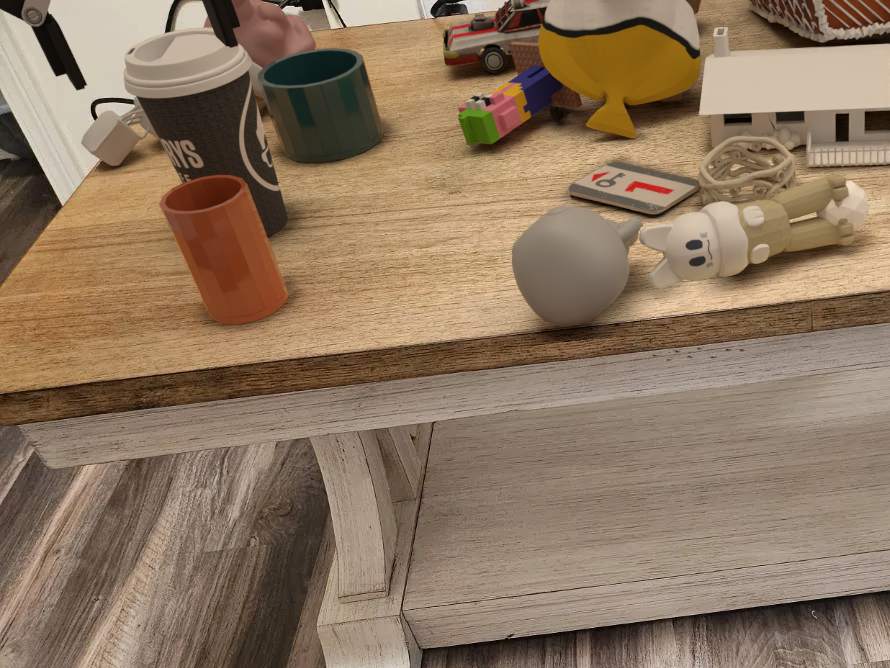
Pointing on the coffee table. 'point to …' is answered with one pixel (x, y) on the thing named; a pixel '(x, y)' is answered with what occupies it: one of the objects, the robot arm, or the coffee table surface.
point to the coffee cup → (206, 112)
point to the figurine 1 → (269, 31)
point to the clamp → (130, 129)
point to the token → (634, 187)
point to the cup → (225, 248)
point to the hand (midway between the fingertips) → (154, 62)
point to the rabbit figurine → (754, 230)
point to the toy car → (493, 34)
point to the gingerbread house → (827, 17)
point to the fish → (621, 53)
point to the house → (800, 98)
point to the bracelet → (745, 171)
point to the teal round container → (321, 104)
